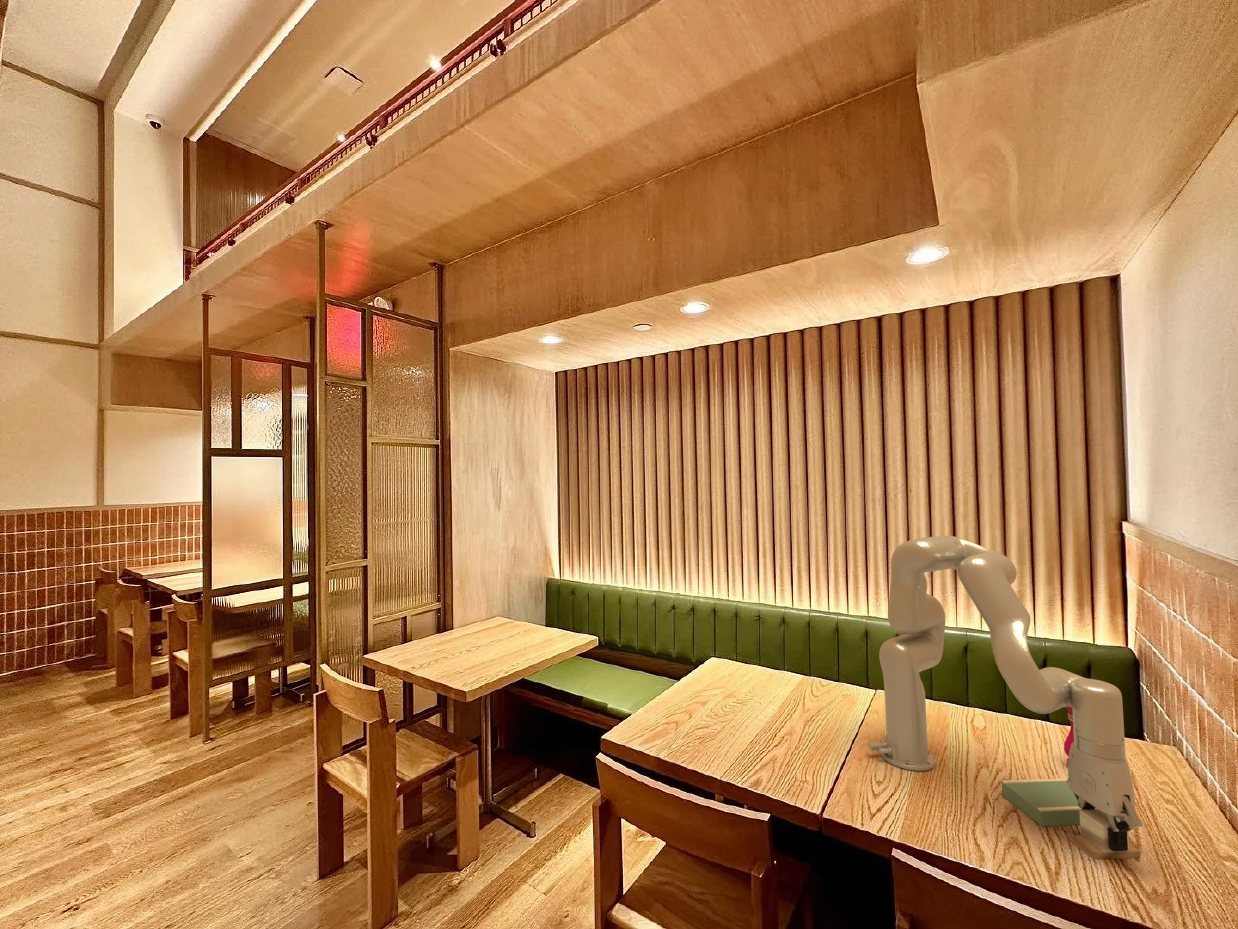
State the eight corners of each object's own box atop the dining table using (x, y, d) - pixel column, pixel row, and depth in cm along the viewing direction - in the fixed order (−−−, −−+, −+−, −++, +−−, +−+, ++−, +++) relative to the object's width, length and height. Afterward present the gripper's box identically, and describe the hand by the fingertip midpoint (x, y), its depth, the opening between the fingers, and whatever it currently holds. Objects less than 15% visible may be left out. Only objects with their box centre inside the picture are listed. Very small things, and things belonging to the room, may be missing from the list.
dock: (1041, 826, 111) (1040, 810, 111) (1002, 795, 122) (1001, 780, 122) (1120, 823, 111) (1119, 807, 111) (1074, 792, 122) (1073, 778, 122)
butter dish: (1094, 859, 101) (1092, 826, 101) (1071, 842, 106) (1069, 810, 106) (1140, 858, 101) (1138, 825, 101) (1115, 840, 106) (1113, 809, 106)
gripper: (1044, 726, 113) (1049, 813, 112) (1122, 769, 96) (1128, 872, 95) (1079, 725, 113) (1084, 812, 112) (1162, 768, 96) (1169, 871, 95)
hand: (1104, 839), depth 104 cm, fingers closed on butter dish, 5 cm apart
